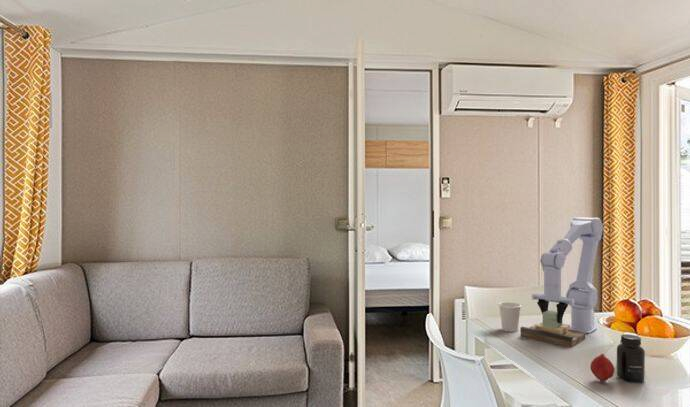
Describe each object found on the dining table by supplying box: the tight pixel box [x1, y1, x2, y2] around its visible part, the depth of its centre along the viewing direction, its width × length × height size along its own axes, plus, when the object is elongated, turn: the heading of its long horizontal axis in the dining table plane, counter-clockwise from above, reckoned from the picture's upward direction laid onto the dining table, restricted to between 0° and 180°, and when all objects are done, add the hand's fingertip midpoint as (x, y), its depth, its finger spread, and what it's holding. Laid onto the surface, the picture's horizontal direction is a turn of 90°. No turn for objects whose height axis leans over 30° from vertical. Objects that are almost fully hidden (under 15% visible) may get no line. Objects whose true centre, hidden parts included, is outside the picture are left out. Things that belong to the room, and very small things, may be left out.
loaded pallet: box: [535, 308, 571, 334], centre depth 170 cm, size 9×9×6 cm
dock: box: [519, 323, 586, 348], centre depth 170 cm, size 14×18×4 cm
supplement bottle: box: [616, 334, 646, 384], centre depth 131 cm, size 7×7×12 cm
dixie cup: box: [498, 301, 522, 333], centre depth 181 cm, size 8×8×10 cm
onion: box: [590, 353, 615, 383], centre depth 129 cm, size 6×6×8 cm
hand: (552, 321), depth 170 cm, fingers closed on loaded pallet, 4 cm apart
